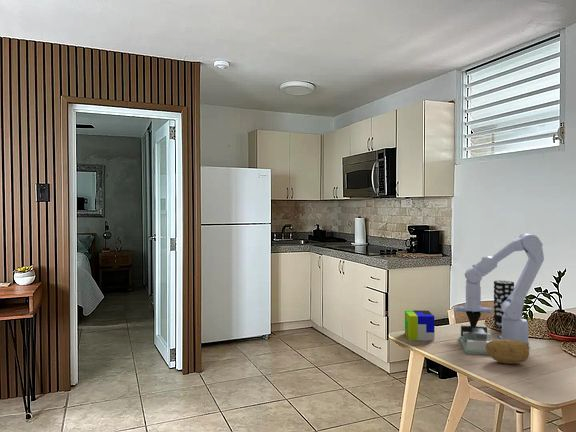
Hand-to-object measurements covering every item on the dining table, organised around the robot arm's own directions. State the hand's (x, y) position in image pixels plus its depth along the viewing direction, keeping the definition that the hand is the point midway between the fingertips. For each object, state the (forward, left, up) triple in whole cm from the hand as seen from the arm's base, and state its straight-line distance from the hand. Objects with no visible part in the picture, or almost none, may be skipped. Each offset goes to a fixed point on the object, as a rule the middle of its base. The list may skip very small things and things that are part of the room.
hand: (473, 329), depth 186 cm
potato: (-6, +29, -4) cm, 30 cm away
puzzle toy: (+22, +3, -4) cm, 22 cm away
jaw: (0, +5, -3) cm, 6 cm away
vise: (0, +12, -3) cm, 12 cm away
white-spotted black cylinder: (-16, -21, -4) cm, 27 cm away
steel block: (0, +13, -2) cm, 14 cm away
